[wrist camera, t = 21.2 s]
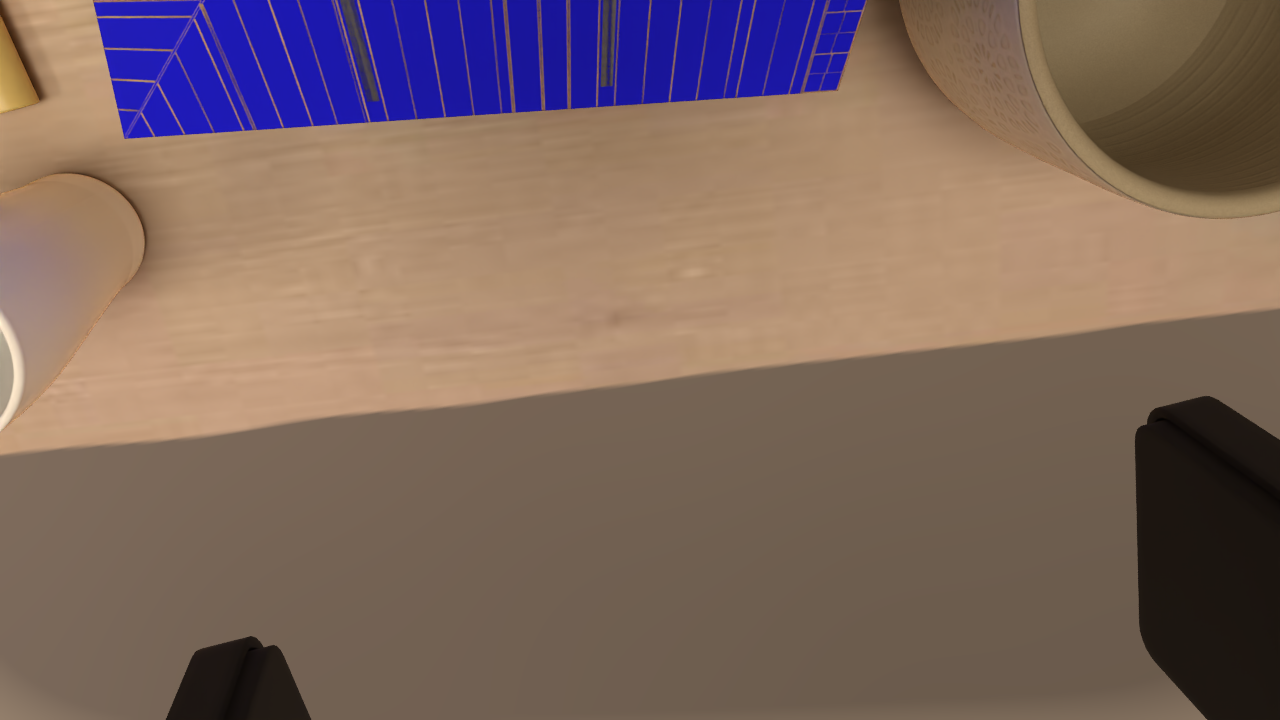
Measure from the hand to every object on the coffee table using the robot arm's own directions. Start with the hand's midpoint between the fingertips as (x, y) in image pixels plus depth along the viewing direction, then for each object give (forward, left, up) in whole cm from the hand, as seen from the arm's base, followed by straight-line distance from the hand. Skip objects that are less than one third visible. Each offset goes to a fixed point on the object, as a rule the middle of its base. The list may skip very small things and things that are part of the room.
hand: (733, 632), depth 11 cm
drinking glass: (0, -20, -37) cm, 42 cm away
